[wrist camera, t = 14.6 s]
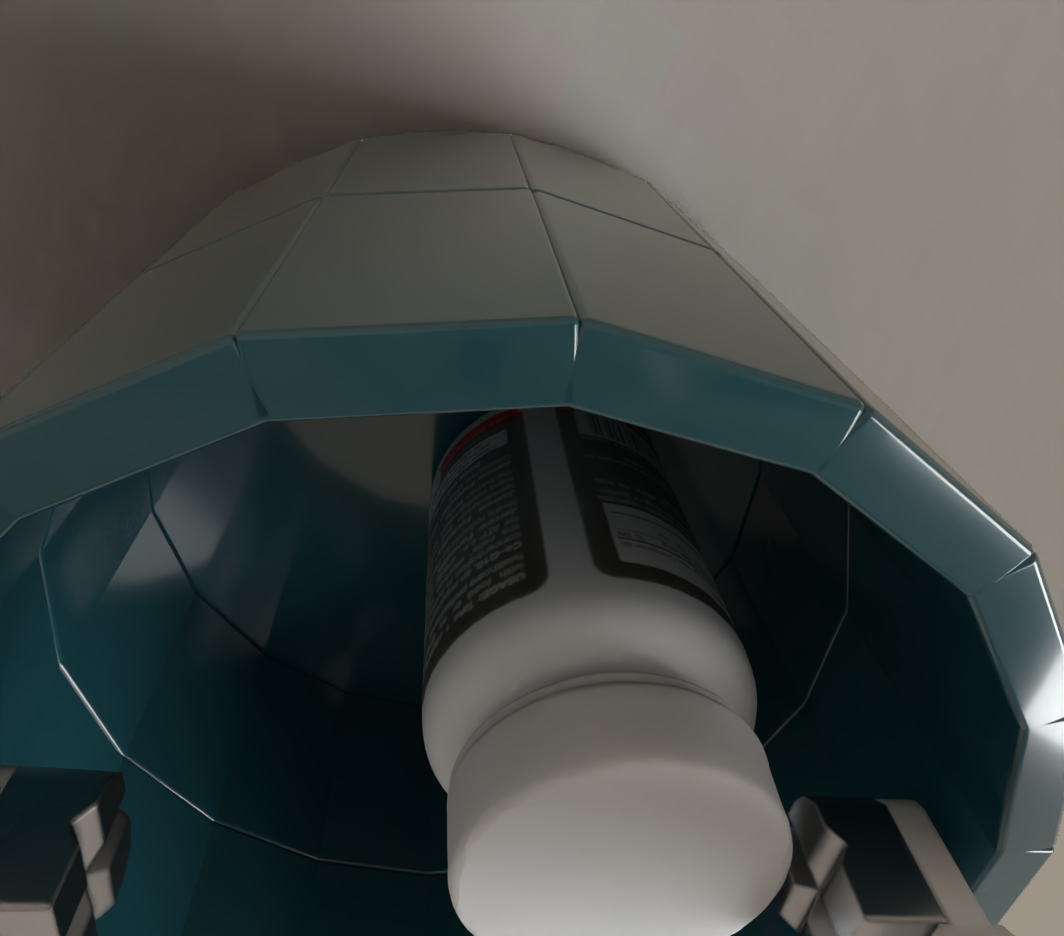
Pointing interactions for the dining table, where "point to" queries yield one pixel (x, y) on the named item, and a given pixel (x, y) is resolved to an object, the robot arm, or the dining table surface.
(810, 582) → the enamel pot
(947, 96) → the dining table surface
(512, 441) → the pill bottle
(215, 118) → the dining table surface
